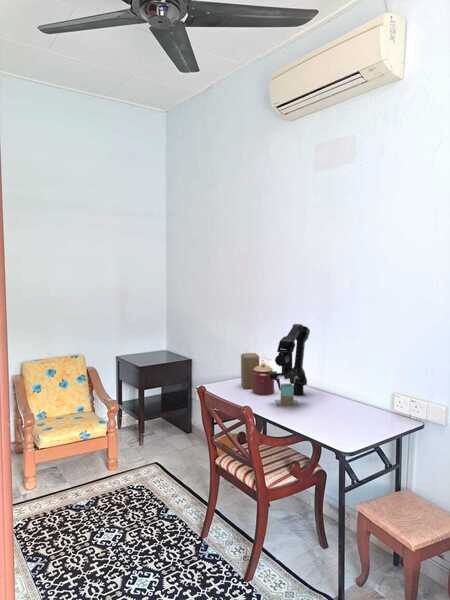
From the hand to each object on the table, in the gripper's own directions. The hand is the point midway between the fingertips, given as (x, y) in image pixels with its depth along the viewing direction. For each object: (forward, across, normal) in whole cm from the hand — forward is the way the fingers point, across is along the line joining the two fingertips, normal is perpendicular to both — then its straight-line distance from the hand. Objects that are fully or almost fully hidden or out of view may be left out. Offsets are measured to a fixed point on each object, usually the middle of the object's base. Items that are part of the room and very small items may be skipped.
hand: (287, 390), depth 236 cm
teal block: (+2, 0, 0) cm, 2 cm away
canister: (+8, -11, +21) cm, 25 cm away
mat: (+7, 0, 0) cm, 7 cm away
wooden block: (+8, -18, +34) cm, 39 cm away
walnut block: (+7, 0, 0) cm, 7 cm away
